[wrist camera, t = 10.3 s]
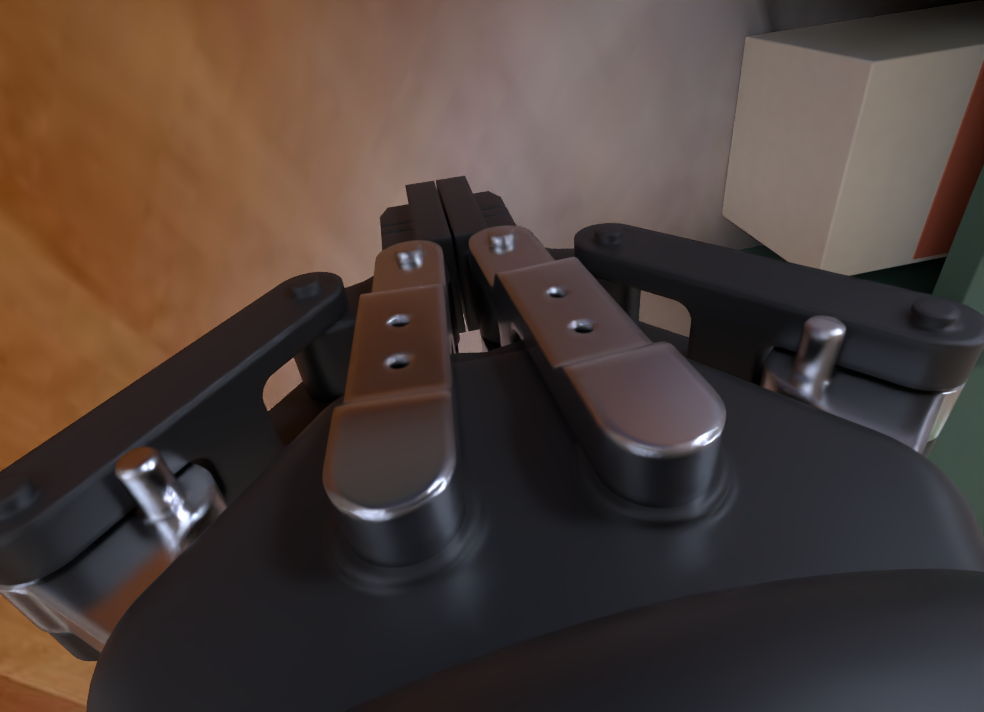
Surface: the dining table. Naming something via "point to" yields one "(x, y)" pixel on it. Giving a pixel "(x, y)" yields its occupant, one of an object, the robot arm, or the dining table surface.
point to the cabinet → (980, 406)
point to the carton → (860, 138)
